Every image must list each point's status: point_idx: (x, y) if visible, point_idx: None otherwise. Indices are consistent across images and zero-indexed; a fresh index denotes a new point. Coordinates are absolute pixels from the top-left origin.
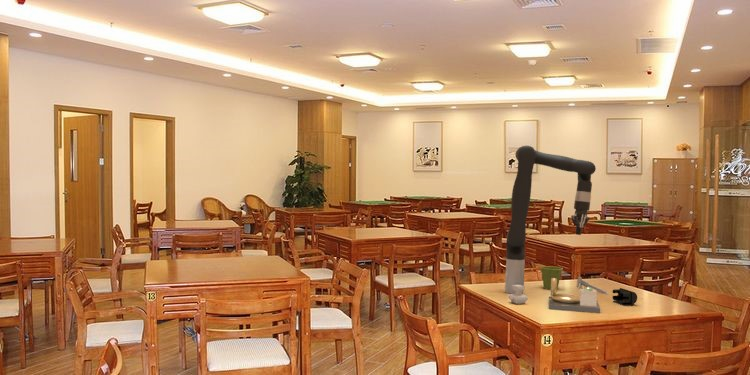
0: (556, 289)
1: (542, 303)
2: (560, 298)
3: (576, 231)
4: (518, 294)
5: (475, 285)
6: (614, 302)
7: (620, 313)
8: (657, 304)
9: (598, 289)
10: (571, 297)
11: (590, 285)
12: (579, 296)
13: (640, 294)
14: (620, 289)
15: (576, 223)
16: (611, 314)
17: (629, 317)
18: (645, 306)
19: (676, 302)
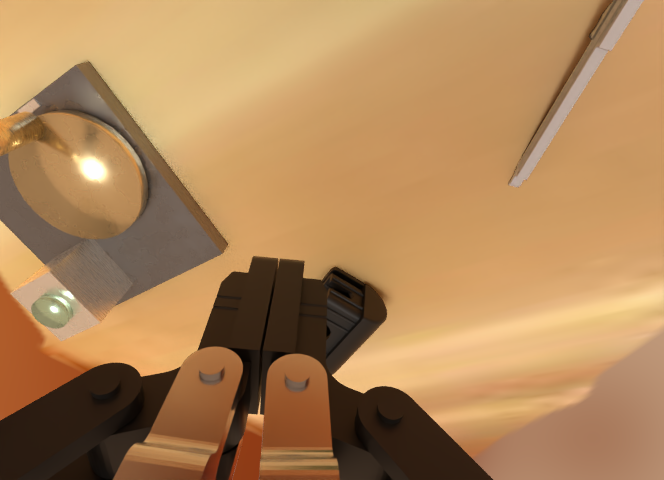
0: (17, 148)
1: (10, 77)
2: (14, 182)
3: (219, 302)
4: None
5: None
6: (326, 275)
7: (165, 345)
8: (423, 379)
9: (541, 132)
10: (79, 205)
11: (577, 73)
12: (133, 218)
13: (618, 287)
14: (348, 322)
15: (90, 455)
16: (124, 332)
17: (141, 375)
18: (350, 364)
19: (518, 409)
